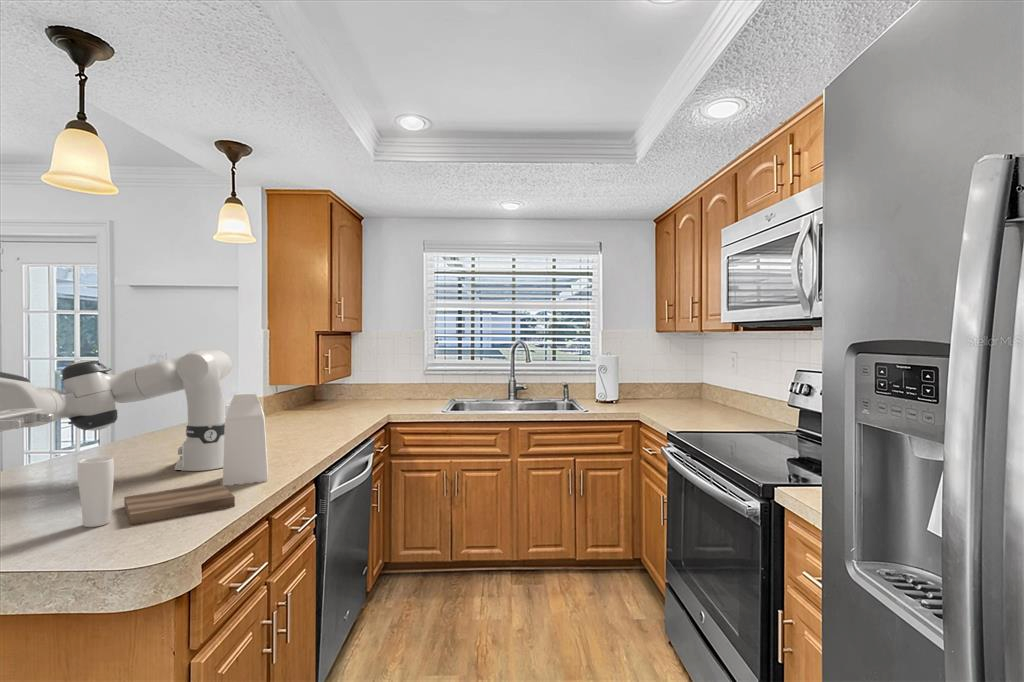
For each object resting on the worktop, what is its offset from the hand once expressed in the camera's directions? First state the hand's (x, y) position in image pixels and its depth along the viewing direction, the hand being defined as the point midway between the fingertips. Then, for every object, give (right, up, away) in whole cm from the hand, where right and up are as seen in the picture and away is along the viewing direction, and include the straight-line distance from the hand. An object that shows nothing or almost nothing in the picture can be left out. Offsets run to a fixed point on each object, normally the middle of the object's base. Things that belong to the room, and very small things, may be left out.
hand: (37, 420), depth 126 cm
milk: (+28, -24, +42) cm, 55 cm away
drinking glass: (+12, -25, +2) cm, 28 cm away
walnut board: (+24, -24, +15) cm, 37 cm away
